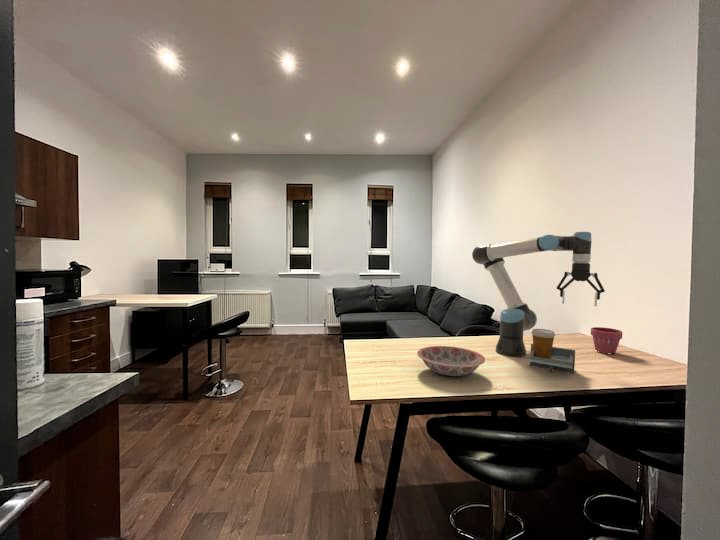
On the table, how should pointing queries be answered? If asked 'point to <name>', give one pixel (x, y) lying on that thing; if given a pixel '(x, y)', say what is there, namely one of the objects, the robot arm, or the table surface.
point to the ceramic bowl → (451, 360)
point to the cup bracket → (555, 360)
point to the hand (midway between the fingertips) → (578, 304)
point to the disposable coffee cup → (542, 342)
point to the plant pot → (606, 339)
